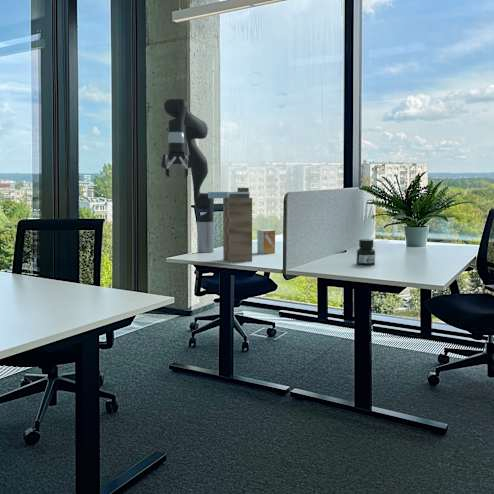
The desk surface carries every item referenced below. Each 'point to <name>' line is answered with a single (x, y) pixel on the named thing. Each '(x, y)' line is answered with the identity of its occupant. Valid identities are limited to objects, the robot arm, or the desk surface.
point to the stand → (237, 228)
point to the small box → (265, 241)
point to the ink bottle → (365, 252)
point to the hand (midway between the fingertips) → (176, 177)
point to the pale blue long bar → (228, 193)
